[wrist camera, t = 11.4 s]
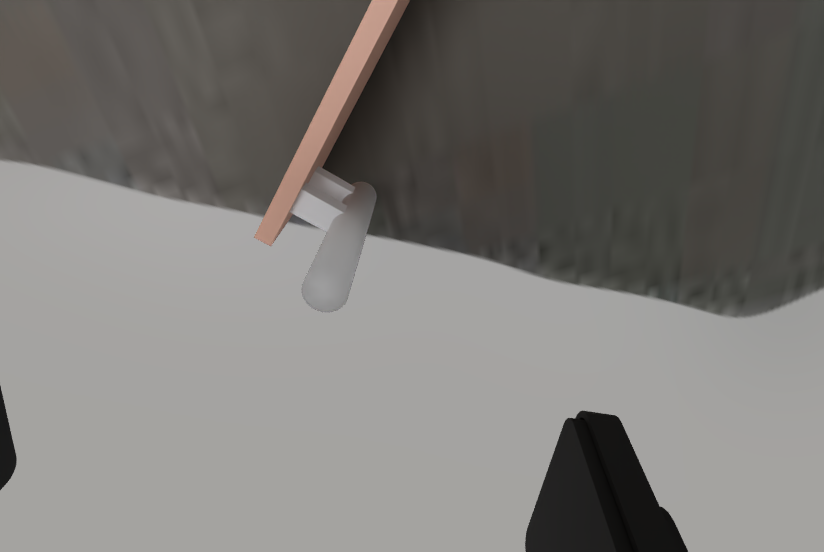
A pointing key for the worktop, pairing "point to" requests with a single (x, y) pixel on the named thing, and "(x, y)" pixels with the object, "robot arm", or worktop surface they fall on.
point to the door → (321, 190)
